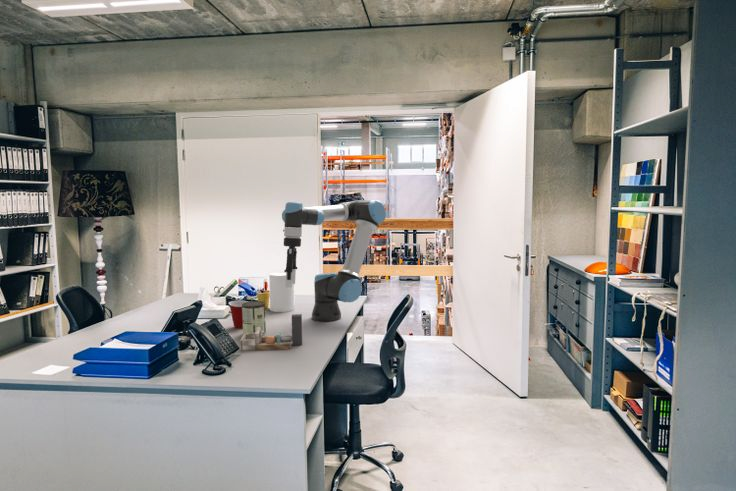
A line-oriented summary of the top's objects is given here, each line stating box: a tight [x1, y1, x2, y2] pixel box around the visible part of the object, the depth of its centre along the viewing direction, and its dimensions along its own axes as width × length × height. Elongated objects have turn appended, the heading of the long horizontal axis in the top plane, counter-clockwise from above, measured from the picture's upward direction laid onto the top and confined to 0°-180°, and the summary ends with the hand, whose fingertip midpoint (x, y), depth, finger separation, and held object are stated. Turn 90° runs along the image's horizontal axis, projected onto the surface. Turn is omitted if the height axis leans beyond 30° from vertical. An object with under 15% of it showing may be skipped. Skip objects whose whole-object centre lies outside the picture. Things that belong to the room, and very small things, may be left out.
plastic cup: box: [228, 300, 249, 330], centre depth 226 cm, size 11×11×12 cm
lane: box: [239, 327, 292, 351], centre depth 197 cm, size 20×12×6 cm, turn 96°
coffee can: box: [242, 300, 267, 337], centre depth 214 cm, size 10×10×14 cm
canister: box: [268, 271, 296, 313], centre depth 263 cm, size 14×14×20 cm
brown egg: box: [265, 335, 276, 344], centre depth 198 cm, size 4×4×4 cm
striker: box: [276, 313, 303, 346], centre depth 198 cm, size 10×4×12 cm, turn 96°
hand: (290, 285), depth 209 cm, fingers open, 13 cm apart
